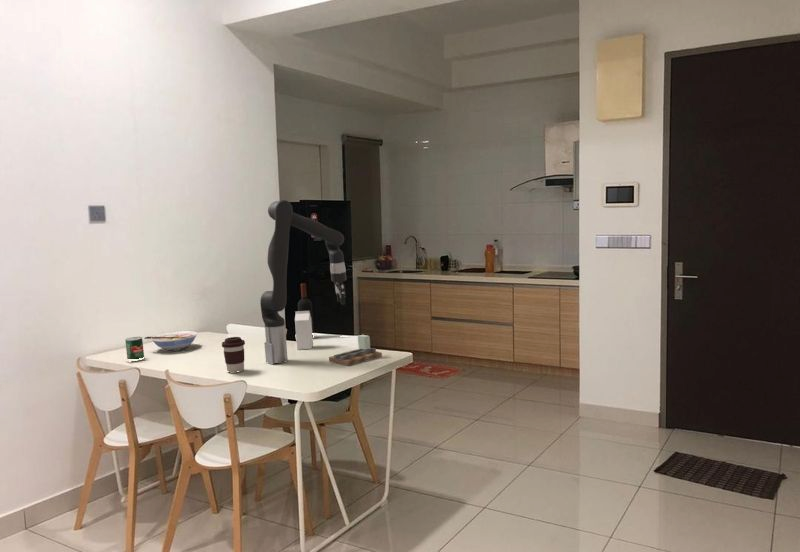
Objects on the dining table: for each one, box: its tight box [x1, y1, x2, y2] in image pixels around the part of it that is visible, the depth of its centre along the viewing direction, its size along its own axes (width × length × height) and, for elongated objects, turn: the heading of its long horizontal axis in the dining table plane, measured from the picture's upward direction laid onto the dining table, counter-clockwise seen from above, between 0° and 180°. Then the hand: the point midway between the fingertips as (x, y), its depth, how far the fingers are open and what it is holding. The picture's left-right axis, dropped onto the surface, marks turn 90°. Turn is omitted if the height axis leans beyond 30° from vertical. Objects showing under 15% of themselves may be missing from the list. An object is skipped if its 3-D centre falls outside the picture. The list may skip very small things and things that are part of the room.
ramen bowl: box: [144, 330, 198, 351], centre depth 335 cm, size 25×23×8 cm
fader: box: [357, 334, 371, 351], centre depth 295 cm, size 3×5×8 cm, turn 42°
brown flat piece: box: [328, 347, 383, 367], centre depth 292 cm, size 20×14×4 cm
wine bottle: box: [297, 283, 315, 334], centre depth 343 cm, size 8×8×30 cm
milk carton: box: [294, 310, 314, 351], centre depth 320 cm, size 7×7×19 cm
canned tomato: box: [124, 336, 145, 360], centre depth 315 cm, size 8×8×11 cm
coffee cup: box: [221, 336, 246, 372], centre depth 282 cm, size 10×10×15 cm
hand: (341, 303), depth 317 cm, fingers open, 8 cm apart
